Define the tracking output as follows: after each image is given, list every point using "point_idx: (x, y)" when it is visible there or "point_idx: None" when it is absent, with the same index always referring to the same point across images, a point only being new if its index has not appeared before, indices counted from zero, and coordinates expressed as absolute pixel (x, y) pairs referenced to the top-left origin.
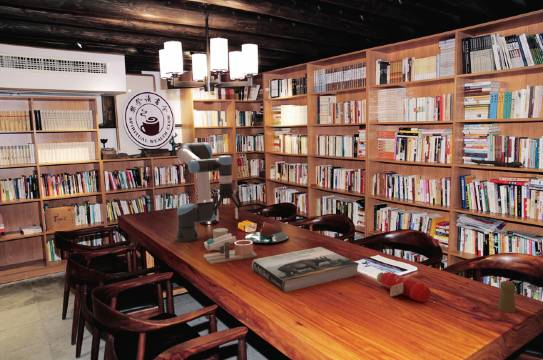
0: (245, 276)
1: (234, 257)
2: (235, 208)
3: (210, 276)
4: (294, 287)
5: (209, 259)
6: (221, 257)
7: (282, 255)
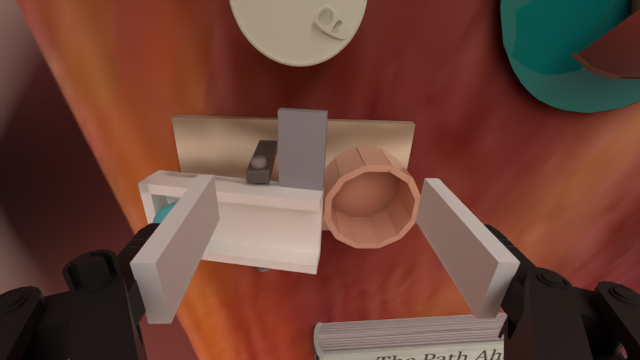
0: (278, 348)
1: None
2: (482, 269)
3: (180, 317)
4: None
5: None
6: None
7: (421, 357)
